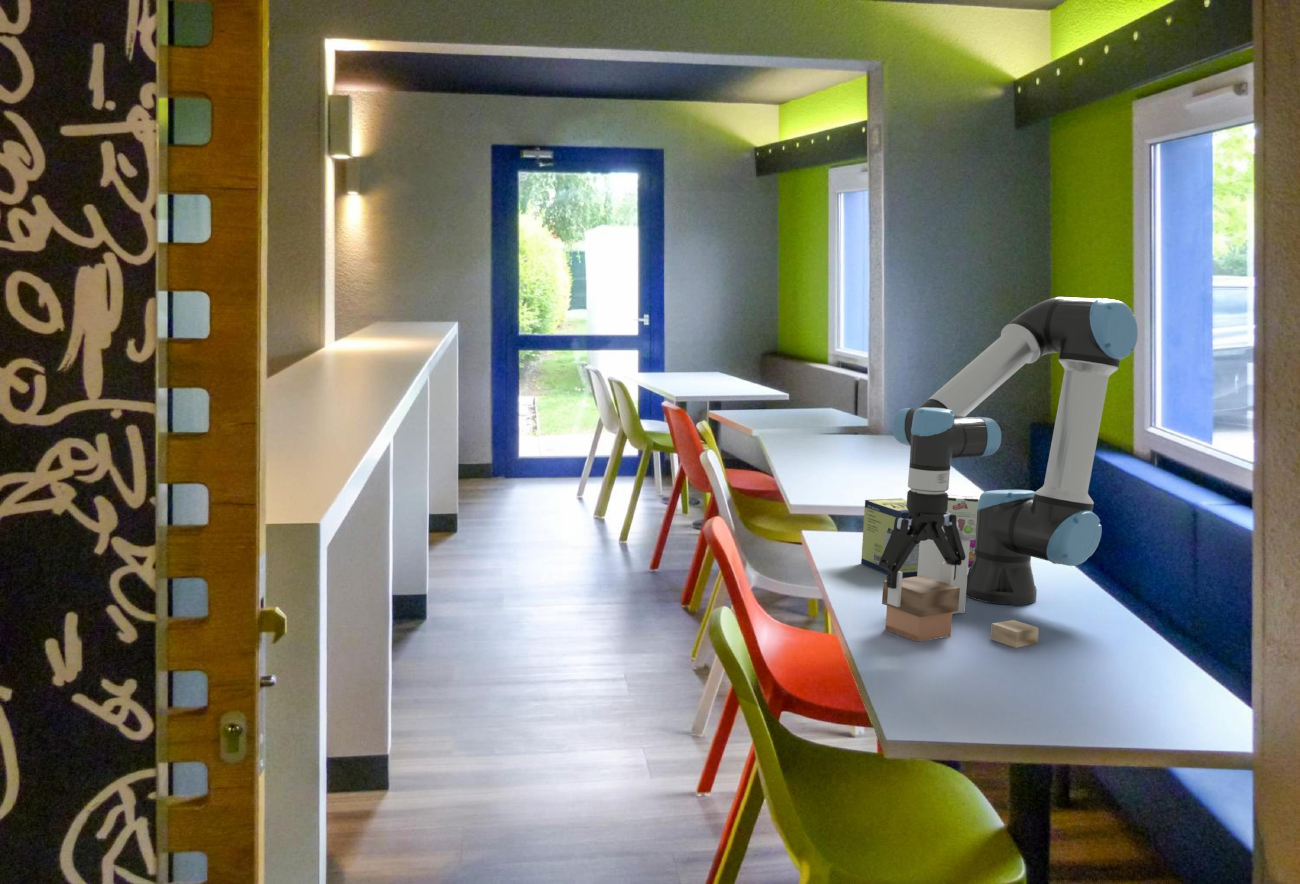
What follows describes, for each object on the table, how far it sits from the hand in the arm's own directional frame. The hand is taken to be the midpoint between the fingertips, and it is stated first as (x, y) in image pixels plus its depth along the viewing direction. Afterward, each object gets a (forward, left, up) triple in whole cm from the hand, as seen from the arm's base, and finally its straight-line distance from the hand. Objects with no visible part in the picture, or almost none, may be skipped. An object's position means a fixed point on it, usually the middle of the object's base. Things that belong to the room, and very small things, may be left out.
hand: (920, 601), depth 232 cm
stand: (-13, +12, -6) cm, 19 cm away
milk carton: (-16, -10, -6) cm, 20 cm away
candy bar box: (-51, -39, -6) cm, 65 cm away
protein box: (-33, -40, -7) cm, 52 cm away
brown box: (0, 0, -1) cm, 1 cm away
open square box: (0, 0, -6) cm, 6 cm away
